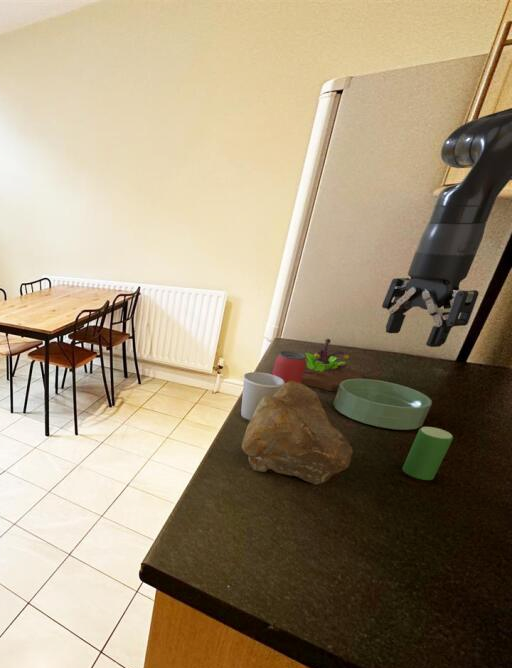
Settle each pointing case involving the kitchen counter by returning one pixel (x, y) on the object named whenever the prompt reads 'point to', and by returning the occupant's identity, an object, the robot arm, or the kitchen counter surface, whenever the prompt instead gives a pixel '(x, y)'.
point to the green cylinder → (427, 453)
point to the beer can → (290, 366)
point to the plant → (327, 370)
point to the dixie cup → (258, 390)
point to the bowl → (382, 404)
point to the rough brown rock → (295, 436)
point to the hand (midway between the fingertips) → (411, 339)
